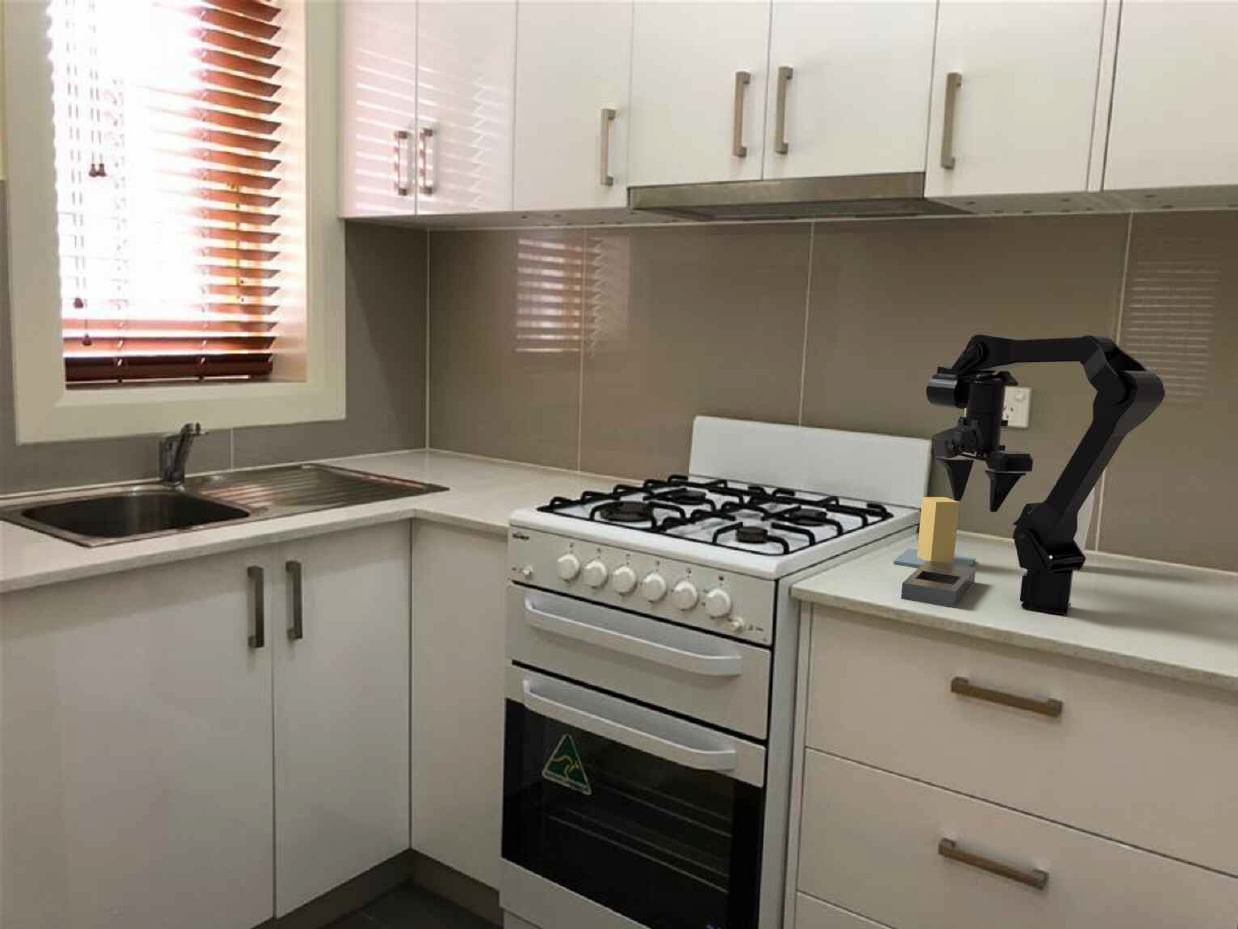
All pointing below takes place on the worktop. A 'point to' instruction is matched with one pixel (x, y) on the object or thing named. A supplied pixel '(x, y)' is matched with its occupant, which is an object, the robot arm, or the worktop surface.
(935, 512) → the mustard block
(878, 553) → the worktop surface
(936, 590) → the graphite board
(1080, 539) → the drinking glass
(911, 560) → the slate mat
